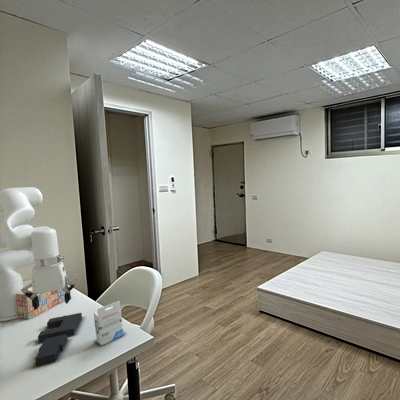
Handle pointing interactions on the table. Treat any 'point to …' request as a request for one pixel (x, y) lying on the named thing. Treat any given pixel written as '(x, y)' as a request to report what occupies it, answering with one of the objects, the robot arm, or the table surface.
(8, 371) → the table surface
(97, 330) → the ink box
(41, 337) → the socket pad
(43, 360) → the pad
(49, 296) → the stack of blocks
